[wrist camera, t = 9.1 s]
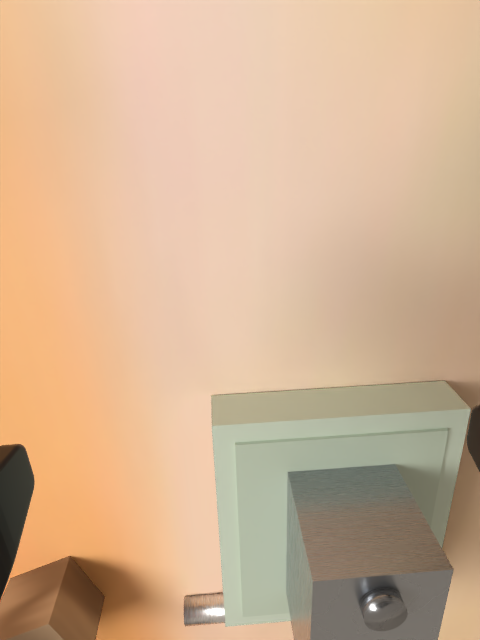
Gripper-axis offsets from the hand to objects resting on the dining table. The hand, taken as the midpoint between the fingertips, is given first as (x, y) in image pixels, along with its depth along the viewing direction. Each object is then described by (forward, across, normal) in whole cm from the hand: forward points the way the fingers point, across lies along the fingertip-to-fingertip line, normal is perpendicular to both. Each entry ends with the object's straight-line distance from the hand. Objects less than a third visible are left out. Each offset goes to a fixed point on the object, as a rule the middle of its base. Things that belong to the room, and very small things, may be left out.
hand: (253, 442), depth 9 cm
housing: (+9, -5, +14) cm, 17 cm away
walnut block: (+12, +12, +19) cm, 26 cm away
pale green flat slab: (+12, -5, +14) cm, 19 cm away
